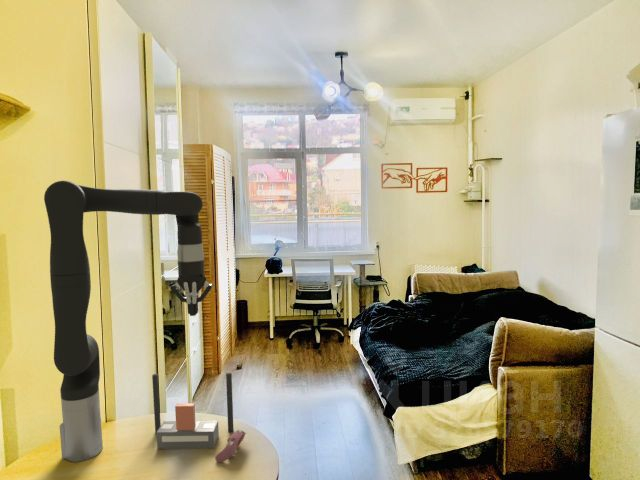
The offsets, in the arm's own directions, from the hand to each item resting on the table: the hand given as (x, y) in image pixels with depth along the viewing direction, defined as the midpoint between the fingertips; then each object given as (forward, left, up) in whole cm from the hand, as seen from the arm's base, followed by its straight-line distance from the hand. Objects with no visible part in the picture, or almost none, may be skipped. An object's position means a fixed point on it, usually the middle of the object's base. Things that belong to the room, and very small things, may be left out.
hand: (193, 315), depth 133 cm
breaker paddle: (0, -12, -30) cm, 32 cm away
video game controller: (+14, -16, -35) cm, 41 cm away
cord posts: (0, -4, -35) cm, 35 cm away
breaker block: (0, -10, -35) cm, 36 cm away
